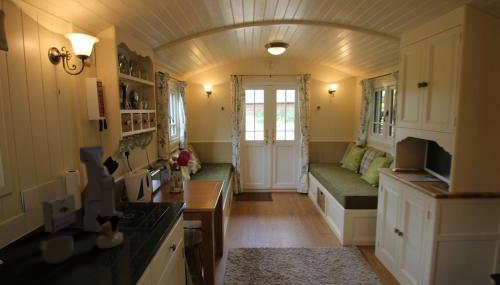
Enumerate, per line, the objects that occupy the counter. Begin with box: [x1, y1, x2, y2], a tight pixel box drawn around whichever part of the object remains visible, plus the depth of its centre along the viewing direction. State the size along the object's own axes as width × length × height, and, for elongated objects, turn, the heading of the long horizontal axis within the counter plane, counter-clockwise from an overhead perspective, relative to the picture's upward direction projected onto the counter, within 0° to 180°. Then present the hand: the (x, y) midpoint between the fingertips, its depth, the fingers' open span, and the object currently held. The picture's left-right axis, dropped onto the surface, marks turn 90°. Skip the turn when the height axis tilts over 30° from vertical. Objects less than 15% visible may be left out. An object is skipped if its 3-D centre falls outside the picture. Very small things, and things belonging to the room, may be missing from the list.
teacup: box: [38, 235, 75, 265], centre depth 112 cm, size 14×11×8 cm
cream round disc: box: [96, 231, 124, 249], centre depth 126 cm, size 11×11×3 cm
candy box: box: [41, 193, 78, 234], centre depth 142 cm, size 14×6×16 cm, turn 164°
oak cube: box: [100, 220, 119, 237], centre depth 125 cm, size 5×5×5 cm
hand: (109, 230), depth 125 cm, fingers closed on oak cube, 5 cm apart
